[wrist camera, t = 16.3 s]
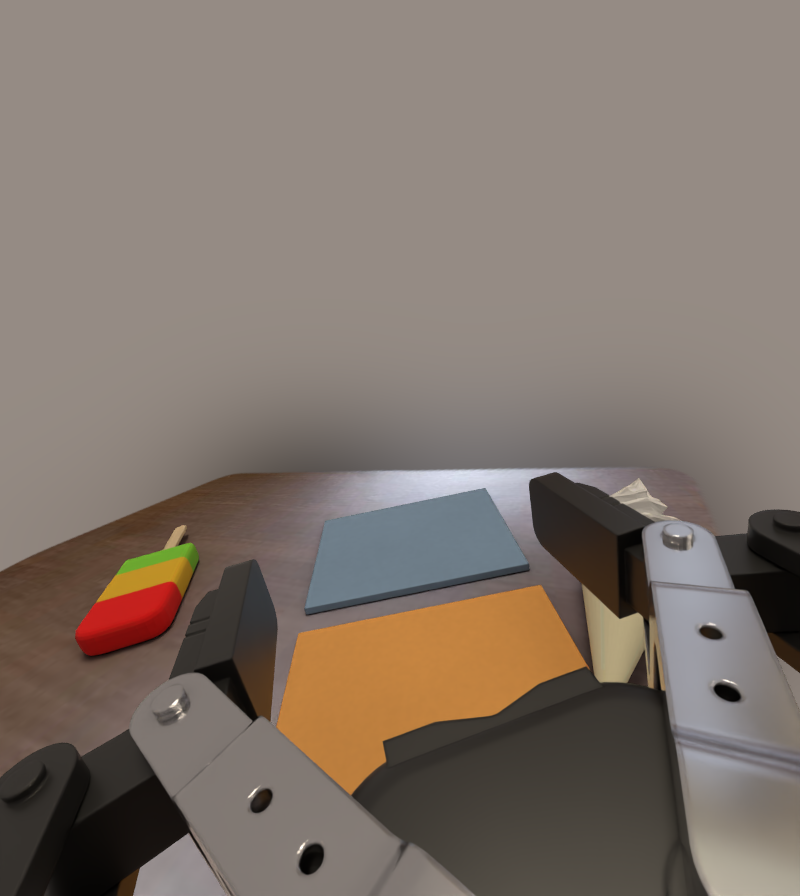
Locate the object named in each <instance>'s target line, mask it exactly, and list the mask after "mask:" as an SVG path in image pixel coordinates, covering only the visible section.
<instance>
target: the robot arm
mask: <svg viewBox="0 0 800 896" xmlns="http://www.w3.org/2000/svg"><path fill="white" fill-rule="evenodd" d="M529 491H530V500H531V510H532V519H533V527H534V531H535V534H536V536H537V539H538V540H539V542H540V544H541V545H542V546H543V547H544V548H545V549H546V550H547V551H548V552H549V553H550V554H551V555H552V556H553V557H554V558H556V559H557V560H558V561H559V562H560V563H561V564H562V565H563V566H564V567H565V568H566V569H567V570H568V571H569V572H570V573H571V574H572V575H573V576H575V577H576V578H577V579H578V580H579V581H580V582H581V583H582V584H583V585H584V586H585V587H586V588H587V589H588V590H589V591H590V592H591V593H592V594H594V595H595V596H596V597H597V598H598V599H599V600H600V601H601V602H602V603H603V604H604V605H605V606H606V607H607V608H608V609H609V610H610V611H611V612H613V613H614V614H615V615H616V616H617V617H618V618H619V619H622V618H625V617H628V616H630V615H633V614H636V613H639V614H640V615H641V616H642V617H643V636H644V646H645V656H646V667H647V677H648V687H647V686H642V685H637V684H632V683H623V682H599V681H598V680H597V679H596V677H595V676H594V675H593V674H592V672H591V671H590V670H589V669H588V668H587V666H585V667H582V668H580V669H577V670H574V671H572V672H569V673H566V674H564V675H561V676H558V677H555V678H553V679H550V680H547V681H545V682H542V683H539V684H538V685H536V686H535V687H533V688H532V689H531V690H529V691H528V692H527V693H525V694H524V695H522V696H521V697H520V698H518V699H517V700H515V701H514V702H513V703H511V704H510V705H508V706H507V707H506V708H504V709H503V710H501V711H500V712H498V713H497V714H495V715H491V716H485V717H475V718H466V719H456V720H447V721H438V722H433V723H431V724H428V725H425V726H422V727H420V728H417V729H414V730H412V731H409V732H406V733H404V734H401V735H398V736H395V737H393V738H390V739H387V740H385V741H382V742H383V747H384V752H385V757H386V762H385V763H383V764H382V765H380V766H379V767H378V768H376V769H375V770H374V771H373V772H372V773H371V774H370V775H369V776H367V777H366V778H365V779H364V780H363V782H362V783H361V784H360V785H359V786H358V787H357V788H356V789H355V790H354V792H353V793H352V794H351V795H350V794H349V793H348V792H346V791H345V790H344V789H343V788H342V787H341V786H340V785H339V784H338V783H337V782H335V781H334V780H333V779H332V778H331V777H330V776H329V775H328V774H327V773H326V772H324V771H323V770H322V769H321V768H320V767H319V766H318V765H317V764H316V763H315V762H313V761H312V760H311V759H310V758H309V757H308V756H307V755H306V754H305V753H304V752H302V751H301V750H300V749H299V748H298V747H297V746H296V745H295V744H294V743H293V742H291V741H290V740H289V739H288V738H287V737H286V736H285V735H284V734H283V733H282V732H280V731H279V730H278V729H277V728H276V727H275V726H274V725H273V724H272V723H271V722H270V718H271V706H272V693H273V680H274V667H275V655H276V642H277V618H276V612H275V609H274V605H273V602H272V600H271V597H270V594H269V592H268V589H267V586H266V583H265V581H264V578H263V575H262V573H261V570H260V567H259V565H258V563H257V561H256V560H255V559H253V560H249V561H246V562H243V563H239V564H236V565H232V566H229V567H226V568H225V570H224V573H223V576H222V579H221V583H220V586H219V589H217V590H213V591H210V592H208V593H207V594H206V595H205V597H204V598H203V599H202V600H201V601H200V603H199V604H198V605H197V606H196V607H195V610H194V613H193V615H192V618H191V621H190V625H189V626H188V629H187V632H186V634H185V636H186V638H184V640H183V643H182V645H181V648H180V651H179V654H178V656H177V659H176V662H175V664H174V667H173V670H172V673H171V675H170V678H169V680H168V681H167V682H165V683H163V684H162V685H160V686H159V687H157V688H156V689H155V690H154V691H152V692H151V693H150V694H149V695H148V696H147V697H146V698H145V699H144V700H143V701H142V702H141V703H140V705H139V706H138V707H137V709H136V710H135V712H134V714H133V716H132V718H131V721H130V726H129V729H128V730H127V731H125V732H123V733H122V734H120V735H118V736H117V737H115V738H113V739H111V740H110V741H108V742H106V743H104V744H103V745H101V746H99V747H97V748H96V749H94V750H92V751H91V752H89V753H87V754H85V755H84V756H82V757H81V756H80V754H79V753H78V751H77V750H76V748H75V747H74V746H73V745H72V744H69V743H57V744H53V745H50V746H47V747H44V748H42V749H40V750H38V751H36V752H34V753H32V754H31V755H29V756H27V757H26V758H24V759H23V760H21V761H20V762H19V763H17V764H16V765H14V766H13V767H12V768H11V769H10V770H8V771H7V772H6V773H5V774H4V775H3V776H2V777H1V778H0V896H133V893H134V889H135V885H136V881H137V877H138V873H139V869H140V867H142V866H143V865H144V864H146V863H147V862H149V861H150V860H151V859H153V858H154V857H156V856H157V855H158V854H160V853H161V852H163V851H164V850H165V849H167V848H168V847H169V846H171V845H172V844H174V843H175V842H176V841H178V840H179V839H181V838H182V837H183V836H185V835H186V834H189V836H190V837H191V839H192V841H193V842H194V844H195V845H196V847H197V849H198V850H199V852H200V853H201V855H202V856H203V858H204V860H205V861H206V863H207V864H208V866H209V868H210V869H211V871H212V872H213V874H214V876H215V877H216V879H217V880H218V882H219V884H220V885H221V887H222V888H223V890H224V892H225V893H226V895H227V896H800V710H799V708H798V705H797V703H796V701H795V698H794V696H793V693H792V691H791V689H790V686H789V684H788V682H787V679H786V677H785V674H784V672H783V670H782V667H781V665H780V663H779V660H778V658H777V656H778V657H780V658H781V659H782V660H784V661H785V662H786V663H787V664H789V665H790V666H791V667H793V668H794V669H795V670H797V671H798V672H799V673H800V512H797V511H790V510H765V511H760V512H757V513H755V514H753V515H751V516H750V518H749V522H748V533H747V534H736V535H725V536H714V535H713V534H712V533H711V532H710V531H709V530H707V529H705V528H704V527H701V526H699V525H696V524H693V523H689V522H684V521H676V520H665V521H658V522H655V521H653V520H651V519H650V518H648V517H646V516H644V515H643V514H641V513H639V512H637V511H636V510H634V509H632V508H630V507H629V506H627V505H625V504H623V503H620V501H618V500H617V499H615V498H613V497H609V495H608V494H606V493H604V492H603V491H601V490H599V489H597V488H596V487H592V486H588V485H585V484H581V483H574V482H572V481H571V480H569V479H567V478H566V477H564V476H562V475H561V474H559V473H557V472H554V473H550V474H547V475H544V476H540V477H537V478H533V479H531V480H530V483H529ZM776 655H777V656H776Z"/></svg>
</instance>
